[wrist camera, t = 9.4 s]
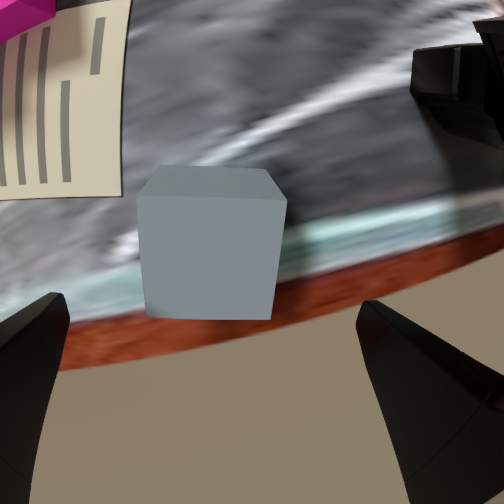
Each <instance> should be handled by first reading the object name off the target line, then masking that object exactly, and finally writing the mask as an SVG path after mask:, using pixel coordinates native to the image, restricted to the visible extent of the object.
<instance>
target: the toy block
mask: <svg viewBox="0 0 504 504" xmlns="http://www.w3.org/2000/svg"><path fill="white" fill-rule="evenodd" d="M55 13H56V0H0V44H2V43H4V42H5V41H7V40H9V39H11V38H12V37H14V36H16V35H18V34H20V33H22V32H24V31H26V30H28V29H30V28H32V27H34V26H36V25H38V24H40V23H42V22H45V21H47V20H49V19H51V18H54V17H55Z"/></svg>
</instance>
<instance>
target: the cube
mask: <svg viewBox="0 0 504 504" xmlns="http://www.w3.org/2000/svg"><path fill="white" fill-rule="evenodd" d="M136 199H137V220H138V236H139V249H140V261H141V271H142V281H143V290H144V299H145V307H146V314H147V317H150V318H174V319H212V320H270V319H271V312H272V306H273V299H274V293H275V286H276V279H277V272H278V265H279V258H280V251H281V244H282V237H283V230H284V222H285V215H286V207H287V200H286V198H285V197H284V195H283V194H282V192H281V191H280V190H279V188H278V187H277V185H276V184H275V182H274V181H273V179H272V178H271V177H270V175H269V174H268V172H267V171H266V170H265V169H253V168H236V167H212V166H166V165H160V167H159V168H158V169H157V170H156V172H155V173H154V174H153V175H152V177H151V178H150V179H149V180H148V182H147V183H146V184H145V185H144V187H143V188H142V189H141V191H140V192H139V193H138V194H137V196H136Z"/></svg>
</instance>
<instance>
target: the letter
mask: <svg viewBox="0 0 504 504" xmlns="http://www.w3.org/2000/svg"><path fill="white" fill-rule="evenodd" d="M130 5H131V0H112V1H105V2H99V3H93V4H88V5H83V6H78V7H74V8H69V9H65V10H61V11H57V12H56V13H55V17H54V18H51V19H49V20H47V21H45V22H42V23H40V24H38V25H36V26H34V27H32V28H30V29H28V30H26V31H24V32H22V33H20V34H18V35H16V36H14V37H12V38H11V39H9V40H7V41H5V42H4V43H2V44H0V200H8V199H27V198H50V197H86V196H122V195H121V167H120V120H121V93H122V76H123V63H124V52H125V43H126V34H127V26H128V18H129V11H130Z"/></svg>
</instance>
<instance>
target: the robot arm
mask: <svg viewBox="0 0 504 504" xmlns="http://www.w3.org/2000/svg"><path fill="white" fill-rule="evenodd" d="M473 24H474V27H475V29H476V32H477V33H479V34H480V37H481V39H482V42H483V43H468V44H453V45H444V46H439V47H430V48H421V49H416V50H414V51H413V62H412V74H411V84H410V93H411V94H412V96H415V97H418V101H419V103H421V104H423V105H426V106H428V107H429V108H430V110H431V112H432V114H433V116H434V118H435V119H436V121H437V122H438V123H439V124H440V125H441V127H442V128H444V129H445V130H446V131H448V132H449V133H451V134H453V135H457V136H460V137H464V138H467V139H470V140H474V141H477V142H480V143H483V144H486V145H489V146H492V147H495V148H498V149H501V150H504V16H501V17H495V18H489V19H483V20H478V21H473ZM69 323H70V315H69V311H68V308H67V304H66V301H65V297H64V295H63V294H62V293H55V292H50V293H48V294H47V295H45V296H43V297H42V298H40V299H38V300H37V301H35V302H33V303H32V304H30V305H28V306H27V307H25V308H23V309H22V310H20V311H18V312H17V313H15V314H14V315H12V316H10V317H9V318H7V319H6V320H4V321H2V322H1V323H0V504H29V497H30V491H31V482H32V476H33V470H34V465H35V459H36V454H37V449H38V444H39V439H40V435H41V431H42V426H43V423H44V418H45V415H46V410H47V406H48V403H49V400H50V396H51V393H52V389H53V386H54V382H55V379H56V375H57V373H58V369H59V366H60V362H61V358H62V353H63V349H64V344H65V340H66V336H67V332H68V328H69ZM356 330H357V334H358V338H359V342H360V346H361V350H362V354H363V357H364V362H365V365H366V369H367V372H368V375H369V377H370V380H371V382H372V386H373V388H374V391H375V394H376V397H377V400H378V402H379V405H380V408H381V411H382V414H383V417H384V420H385V423H386V426H387V429H388V432H389V435H390V438H391V441H392V444H393V447H394V451H395V454H396V457H397V460H398V463H399V467H400V470H401V473H402V477H403V480H404V482H405V483H404V484H405V488H406V491H407V494H408V498H409V502H410V504H504V375H502V374H500V373H498V372H496V371H495V370H493V369H491V368H489V367H487V366H485V365H483V364H482V363H480V362H479V361H477V360H475V359H473V358H472V357H470V356H469V355H467V354H465V353H464V352H461V351H460V350H459V349H457V348H456V347H454V346H452V345H451V344H449V343H447V342H446V341H444V340H442V339H441V338H439V337H438V336H436V335H434V334H433V333H431V332H429V331H428V330H426V329H424V328H423V327H421V326H419V325H418V324H416V323H414V322H413V321H411V320H409V319H408V318H406V317H404V316H403V315H401V314H399V313H398V312H396V311H394V310H393V309H391V308H389V307H388V306H386V305H384V304H383V303H381V302H379V301H378V300H365V301H364V302H363V303H362V305H361V308H360V311H359V314H358V317H357V320H356Z"/></svg>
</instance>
